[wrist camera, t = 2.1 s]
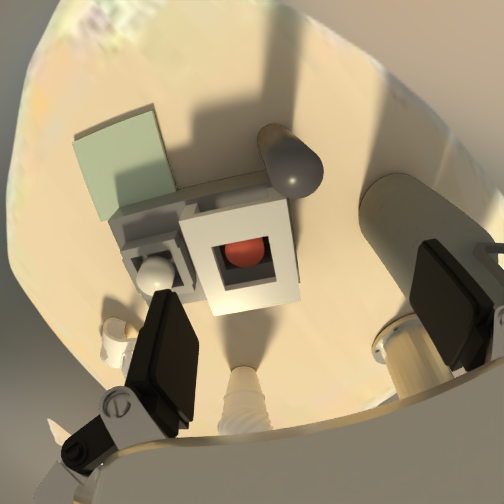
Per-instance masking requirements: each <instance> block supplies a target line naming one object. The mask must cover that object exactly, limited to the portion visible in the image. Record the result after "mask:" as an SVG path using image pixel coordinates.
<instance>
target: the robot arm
mask: <svg viewBox="0 0 504 504" xmlns="http://www.w3.org/2000/svg"><path fill="white" fill-rule="evenodd" d="M409 301H410V305H411V306H412V308H413V310H414V311H415V313H416V314H411V315H407V316H405V317H402V318H400V319H398V320H397V321H395V322H393V323H392V324H390V325H389V326H388V327H387V328H385V329H384V330H383V331H382V332H381V333H380V334H379V336H378V337H377V338H376V340H375V342H374V344H373V346H372V354H373V357H374V359H375V360H376V361H377V362H378V363H381V364H386V366H387V368H388V370H389V373H390V375H391V378H392V380H393V383H394V385H395V388H396V391H397V393H398V396H399V398H400V400H398V401H395V402H392V403H389V404H386V405H383V406H379V407H376V408H373V409H369V410H366V411H362V412H359V413H355V414H351V415H347V416H343V417H339V418H335V419H330V420H326V421H321V422H316V423H311V424H306V425H301V426H295V427H290V428H283V429H277V430H270V431H262V432H253V433H243V434H233V435H221V436H205V437H185V438H178V437H177V435H178V431H179V429H189V422H192V421H193V416H194V402H195V389H196V377H197V365H198V355H199V341H198V338H197V336H196V334H195V332H194V330H193V327H192V325H191V323H190V321H189V319H188V317H187V315H186V312H185V310H184V308H183V306H182V304H181V301H180V299H179V297H178V295H177V293H176V292H172V291H171V289H163V290H157V291H155V292H154V294H153V297H152V300H151V303H150V307H149V310H148V313H147V316H146V320H145V323H144V327H142V328H141V329H140V331H139V334H138V337H137V341H136V344H135V348H134V351H133V355H132V359H131V362H130V366H129V370H128V374H127V377H126V381H125V385H124V386H117V387H113V388H111V389H109V390H108V391H107V392H106V393H105V394H104V395H103V396H102V398H101V400H100V403H99V413H100V414H99V415H98V416H97V417H95V418H94V419H93V420H92V421H90V422H89V423H88V424H86V425H85V426H84V427H82V428H81V429H80V430H78V431H77V432H76V433H74V434H73V435H72V436H70V437H69V438H68V439H67V440H66V441H65V442H64V444H63V446H62V450H61V458H62V460H61V462H59V461H57V462H56V463H55V464H54V466H53V467H52V468H51V470H50V471H49V472H48V474H47V475H46V477H45V478H44V479H43V480H42V482H41V483H40V485H39V486H38V487H37V489H36V491H35V493H34V502H35V504H504V305H503V306H500V307H498V308H497V309H496V311H495V309H494V308H493V306H494V302H493V301H492V300H491V299H490V297H489V296H488V295H487V294H486V292H485V291H484V290H483V289H482V288H481V287H480V285H479V284H478V283H477V282H476V281H475V279H474V278H473V277H472V276H471V275H470V274H469V273H468V272H467V270H466V269H465V268H464V267H463V266H462V265H461V264H460V263H459V262H458V261H457V259H456V258H455V257H454V256H453V255H452V254H451V253H450V252H449V251H448V250H447V249H446V248H445V247H444V246H443V245H442V244H441V243H440V242H439V241H438V240H437V239H435V238H433V239H429V240H424V241H422V243H421V245H420V246H419V247H418V251H417V258H416V264H415V270H414V275H413V281H412V286H411V291H410V295H409ZM449 367H450V368H449ZM462 367H464V368H465V374H463V375H461V376H459V377H456V378H454V376H453V374H452V372H453V371H455V370H457V369H459V368H462ZM450 369H451V370H450ZM451 371H452V372H451Z"/></svg>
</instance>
